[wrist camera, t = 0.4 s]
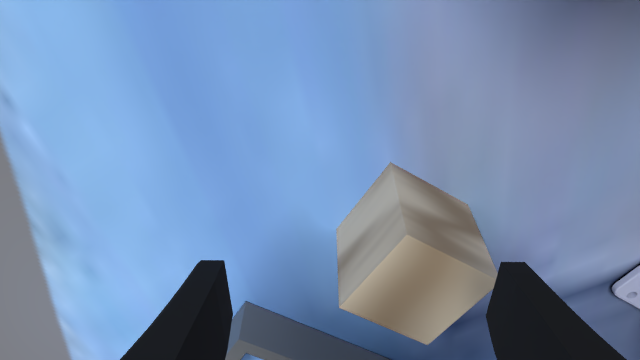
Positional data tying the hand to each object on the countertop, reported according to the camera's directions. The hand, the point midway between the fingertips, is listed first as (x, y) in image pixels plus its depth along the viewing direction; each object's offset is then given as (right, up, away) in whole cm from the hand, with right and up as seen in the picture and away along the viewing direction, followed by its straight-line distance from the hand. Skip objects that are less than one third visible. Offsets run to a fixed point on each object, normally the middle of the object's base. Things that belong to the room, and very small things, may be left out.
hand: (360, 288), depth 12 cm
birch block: (+3, +1, +10) cm, 10 cm away
